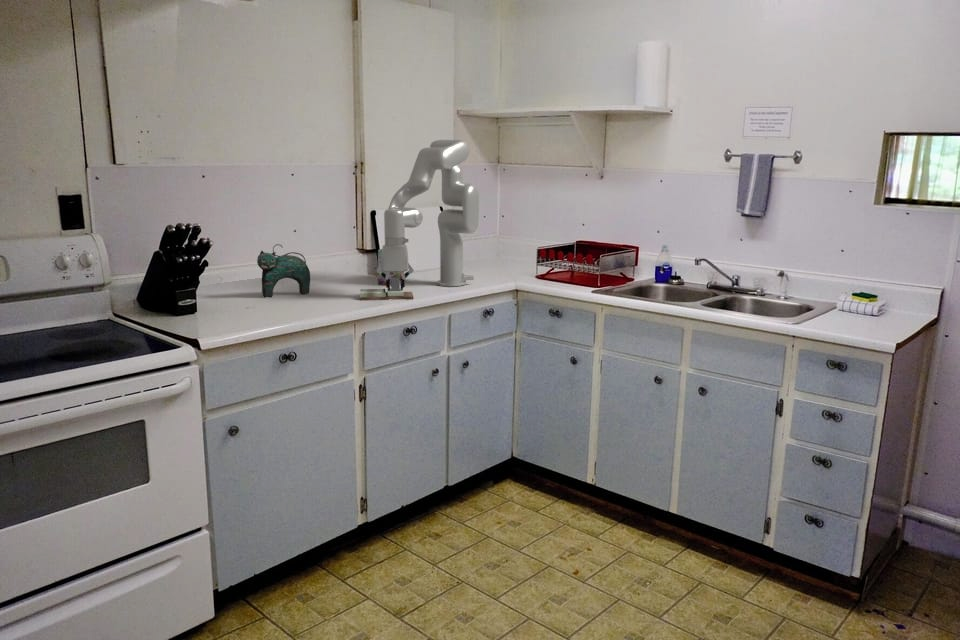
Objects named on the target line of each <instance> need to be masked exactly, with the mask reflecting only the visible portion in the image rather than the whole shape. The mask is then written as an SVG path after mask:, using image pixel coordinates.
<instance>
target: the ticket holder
mask: <svg viewBox="0 0 960 640" xmlns="http://www.w3.org/2000/svg"><path fill="white" fill-rule="evenodd" d="M389 299H406V300H414V294H413V291H404V296H388V293H387V290H386V288H361V289H360V290H359V300H360V301H390V300H389Z"/></svg>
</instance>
